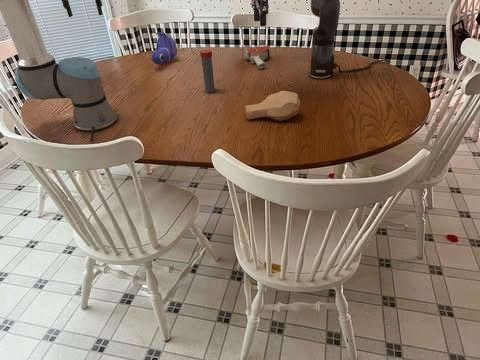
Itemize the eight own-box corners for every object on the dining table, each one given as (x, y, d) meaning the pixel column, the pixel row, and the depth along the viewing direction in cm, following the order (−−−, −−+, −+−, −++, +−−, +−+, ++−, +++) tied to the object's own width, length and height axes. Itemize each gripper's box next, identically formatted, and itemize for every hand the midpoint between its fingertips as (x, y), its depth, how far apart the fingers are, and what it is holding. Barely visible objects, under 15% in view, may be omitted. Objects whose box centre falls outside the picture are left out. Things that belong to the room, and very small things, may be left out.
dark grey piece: (203, 90, 153) (199, 52, 143) (212, 88, 155) (208, 50, 145) (207, 93, 150) (203, 54, 140) (216, 91, 152) (212, 52, 142)
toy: (165, 64, 197) (145, 70, 175) (161, 31, 190) (139, 33, 168) (182, 63, 195) (163, 69, 172) (178, 30, 188) (158, 32, 166)
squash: (303, 121, 125) (302, 100, 119) (248, 131, 127) (244, 110, 121) (298, 104, 133) (297, 83, 126) (246, 113, 135) (242, 93, 128)
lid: (198, 55, 144) (197, 50, 143) (209, 53, 146) (208, 48, 145) (203, 58, 141) (202, 53, 140) (214, 56, 143) (213, 51, 142)
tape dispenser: (262, 73, 170) (281, 58, 183) (262, 62, 167) (281, 48, 179) (231, 66, 178) (251, 52, 190) (230, 56, 174) (251, 42, 187)
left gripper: (102, -44, 147) (116, 12, 160) (44, -40, 148) (61, 15, 160) (96, -42, 141) (111, 15, 153) (35, -38, 142) (54, 19, 154)
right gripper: (275, -26, 118) (275, 26, 127) (263, -30, 129) (264, 18, 138) (253, -23, 116) (255, 29, 126) (243, -28, 128) (245, 20, 137)
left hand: (85, 15), depth 157 cm, fingers open, 13 cm apart
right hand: (260, 23), depth 132 cm, fingers open, 8 cm apart
